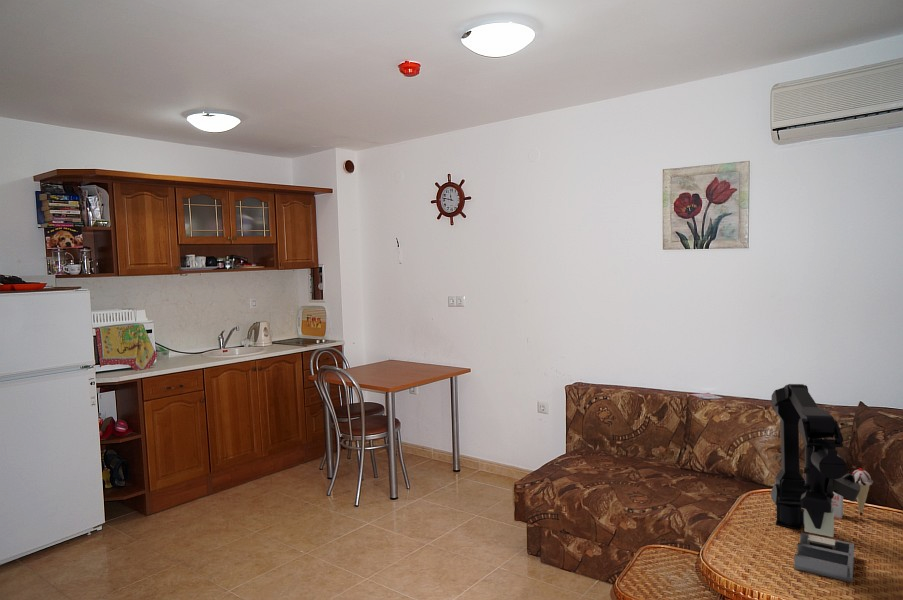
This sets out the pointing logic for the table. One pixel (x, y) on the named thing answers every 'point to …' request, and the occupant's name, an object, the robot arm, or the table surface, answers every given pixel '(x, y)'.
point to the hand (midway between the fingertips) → (818, 525)
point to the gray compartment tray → (825, 557)
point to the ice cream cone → (862, 486)
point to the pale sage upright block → (826, 526)
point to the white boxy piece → (837, 505)
